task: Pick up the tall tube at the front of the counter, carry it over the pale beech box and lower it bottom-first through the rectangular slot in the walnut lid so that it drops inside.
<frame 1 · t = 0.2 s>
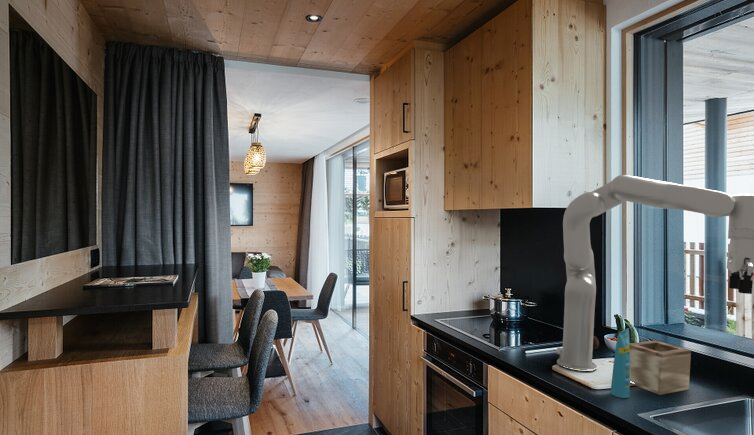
hand: (740, 291, 146), 31 cm above the countertop, tool pointing down, fingers open, 9 cm apart
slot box: (656, 385, 150), on the countertop
brown oblong piece: (579, 350, 187), on the countertop
tube: (620, 396, 140), on the countertop
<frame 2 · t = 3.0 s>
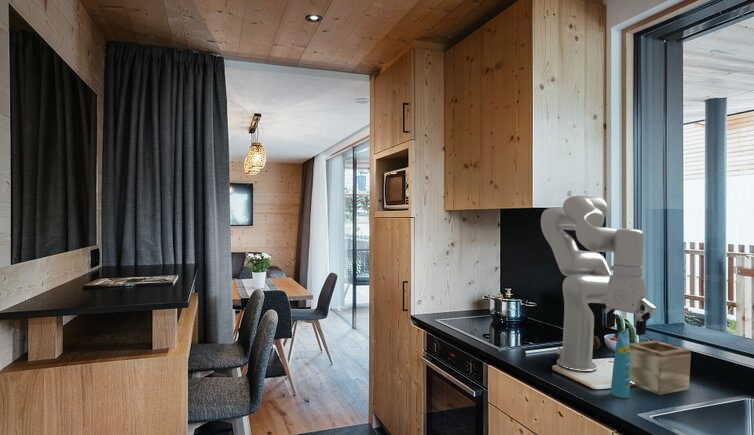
hand: (625, 330, 139), 19 cm above the countertop, tool pointing down, fingers open, 9 cm apart
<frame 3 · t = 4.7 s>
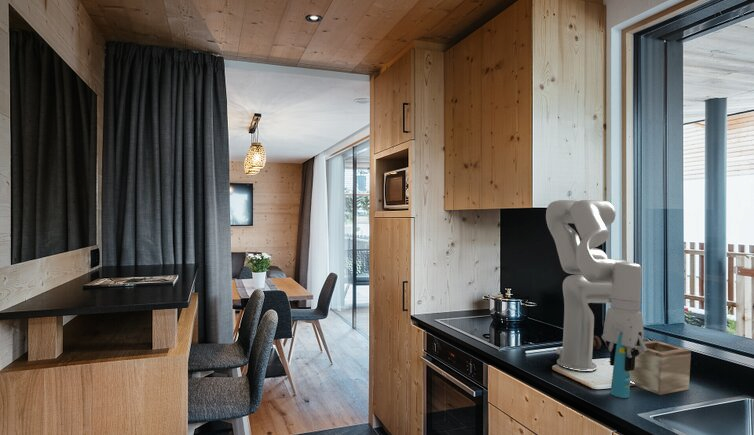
hand: (621, 367, 140), 8 cm above the countertop, tool pointing down, fingers closed on tube, 4 cm apart
tube: (620, 395, 140), on the countertop, touching gripper
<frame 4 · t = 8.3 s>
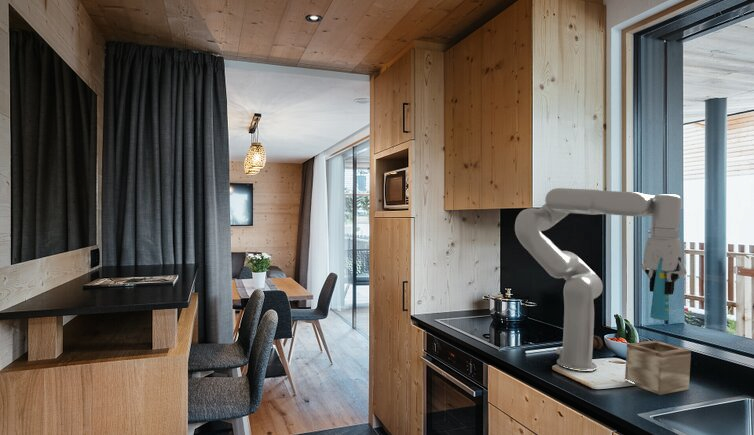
hand: (661, 292, 149), 29 cm above the countertop, tool pointing down, fingers closed on tube, 4 cm apart
tube: (659, 319, 149), point 21 cm above the countertop, touching gripper
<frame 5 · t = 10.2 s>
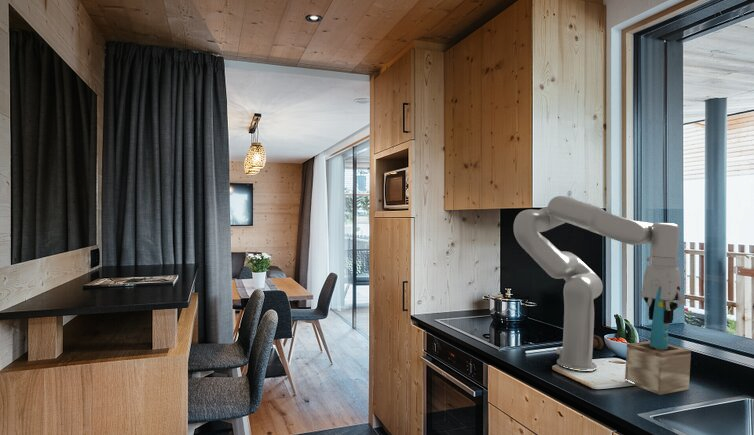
hand: (660, 320, 149), 20 cm above the countertop, tool pointing down, fingers closed on tube, 4 cm apart
tube: (659, 347, 149), point 12 cm above the countertop, touching gripper
when the fingers open (14 cm above the countertop, at t = 11.8 s): tube drops 4 cm, resting on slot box.
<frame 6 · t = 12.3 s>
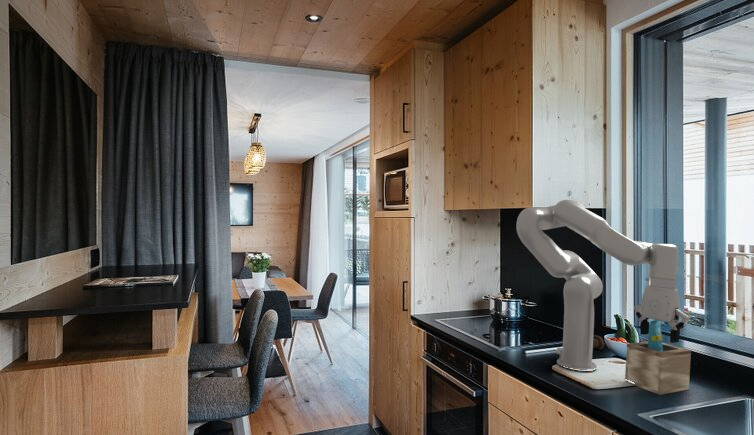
hand: (659, 338, 149), 15 cm above the countertop, tool pointing down, fingers open, 9 cm apart
tube: (656, 382, 150), point 1 cm above the countertop, touching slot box
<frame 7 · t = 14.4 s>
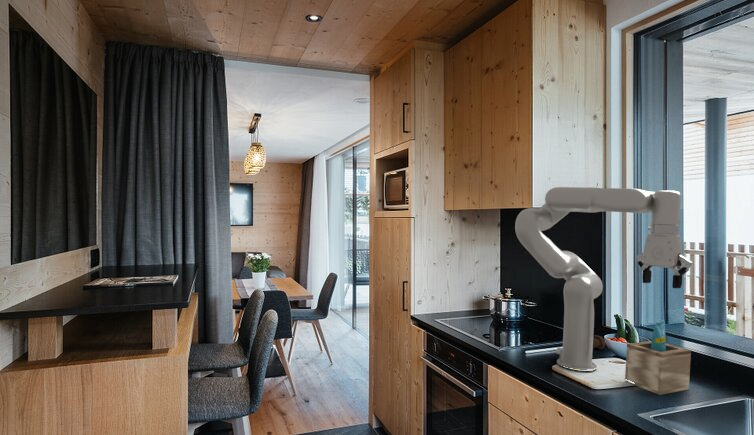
hand: (661, 285, 149), 31 cm above the countertop, tool pointing down, fingers open, 9 cm apart
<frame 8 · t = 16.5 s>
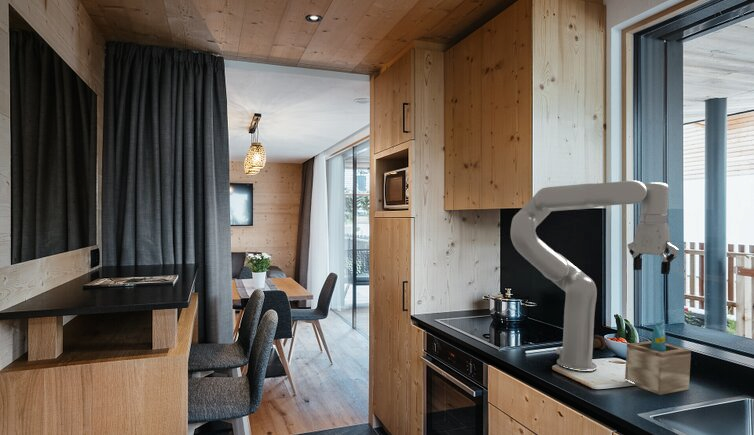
hand: (650, 271, 159), 34 cm above the countertop, tool pointing down, fingers open, 9 cm apart
at the end: tube inside the target area on the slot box (0.0 cm from its centre), point 0.6 cm above the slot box's base; the gripper is holding nothing; tube tilted 0° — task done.
